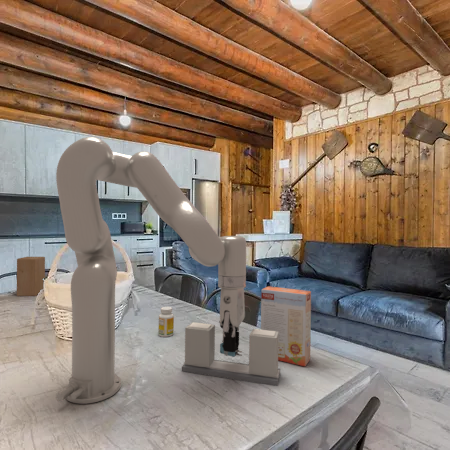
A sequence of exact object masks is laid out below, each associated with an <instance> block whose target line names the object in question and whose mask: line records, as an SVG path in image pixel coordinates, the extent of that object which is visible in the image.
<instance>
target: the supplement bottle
mask: <svg viewBox="0 0 450 450" xmlns="http://www.w3.org/2000/svg"><path fill="white" fill-rule="evenodd" d="M174 319H175V316H174V313H173V307H171V306H163V307H161V308H160V313H159V315H158V336H159V337H162V338H167V337H172V336H173V335H174V332H175V331H174V330H175V328H174V326H175V324H174V323H175V322H174V321H175V320H174Z"/></svg>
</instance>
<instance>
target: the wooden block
mask: <svg viewBox="0 0 450 450" xmlns="http://www.w3.org/2000/svg"><path fill="white" fill-rule="evenodd" d="M43 278H45V279H46V257H45V256H24V257H20V258H17V259H16V297H37V296H38V295H37V294H38V293H39V292H40V290H41V289H43V280H42V279H43Z"/></svg>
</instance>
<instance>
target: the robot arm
mask: <svg viewBox="0 0 450 450" xmlns="http://www.w3.org/2000/svg"><path fill="white" fill-rule="evenodd" d="M55 174H56V175H55V176H56V177H55V180H56V190H57V194H58V195H57V196H58V200H59V205H60V206H59V207H60V212H61V213H60V214H61V218H62V222H63V230H64V236H65V241H66V243H67V246H68V247H69V248H70V249H71V250H72V251H74V254H75V257H76V258H75V259H76V263H77V267H76V268H75V270H74V271H73V273H72V276H71V279H70V298H71V315H72V316H71V328H72V329H71V335H72V336H71V339H72V340H71V341H72V342H71V377H70V378H68V384H66V386H65V387H64V388H63V389H62V390H60V391H58V393H56V395H55V398H56V401H58V402H60V403H61V402H63V401H64V400H66V401H69V402H70V403H74V404H84V405H86V404H87V405H88V404H94V403H98V402H101V401H105V400H106V399H108V398H111V397H112V396H114V395H115V394H117V393H118V392H119V390H120V389H121V387H122V380H121V378H120V376H118V375H116V374H115V369H116V367H115V361H116V360H115V356H116V353H115V349H116V346H115V345H116V283H117V282H116V280H117V275H118V268H117V267H118V266H117V261H116V257H115V252H114V247H113V241H112V236H111V230H110V228H109V226H108V223H107V222H106V221H105V220H104V219H103V215H102V211H101V205H100V198H99V193H98V188H97V181H100V182H106V183H110V184H115V185H119V186H125V187H129V188H130V187H131V188H136V189H138V191H139V192H140V193H141V195H142V196H143V197H144V198H145V200H146V201H147V203H148V204H149V205H150V206H151V208H152V209H153V210H154V212H155V213H156V214H157V215H158V217H159V218H160V219H161V220H162V221H163V222H164V223H165V224H167V226H169V227H170V228H171V229H172V230H173V231H175V233H176V234H178V236H179V237H180V239H182V241H183V242H184V244H185V245H186V246H187V247H188V252H189V255H190V256H191V258H192V259H193V260H194V261H196V262H197V263H199V264H200V265H202V266H204V267H216V266H217V267H218V270H217V271H218V275H217V277H218V281H217V283H218V284H217V285H218V288H220V295H219V297H220V302H219V303H220V304H219V321H220V323H219V325H220V324H221V325H222V326H223V329H222V333H223V332H224V346H223V350H224V351H227V352H235V350H236V344H237V345H238V347H239V346H240V325H241V323H242V322H243V321H244V319H245V317H246V311H245V310H246V309H245V308H246V307H245V288H246V286H247V283H246V282H247V278H246V277H247V240H246V238H245V237H243V236H240V235H224V236H219V235H218V233H216V231H215V230H214V228H213V227H212V226H211V224H210V223H209V222H208V221H207V219H206V218H205V217H204V216H203V215H202V213H201V212H200V211H199V210H198V209H197V207H195V206H194V204H193V203H192V201H190V199H189V198H188V197H187V196H186V195H185V193H184V192H183V191H182V190H181V188H180V187H179V185H178V184H177V183H176V181H175V180H174V179H173V178H172V176H171V175H170V173H169V172H168V171H167V170H166V168H165V167H164V165H163V164H162V163H161V161H160V159H158V157H156V156H155V154H154V153H151V152H150V151H149V152H148V151H144V150H143V151H139V152H136V153H134V154H133V155H129V154H123V153H121V152H120V153H119V152H116V151H113V150H112V148H111V147H110V146H109V144H108V143H107V142H106V141H104V140H103V139H101V138H98V137H95V136H87V137H83V138H80V139H77V140H75V141H74V142H72V144H70V145H69V146H68V147H67V148H65V150H64V151H63V153H62V154H61V156H60V158H59V160H58V163H57V166H56V172H55ZM223 320H224V321H223ZM229 323H232V325H229ZM223 324H224V325H223ZM235 327H238V328H236V329H235ZM229 328H232V331H231V329H229ZM234 335H235V337H234Z"/></svg>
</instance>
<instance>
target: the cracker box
mask: <svg viewBox="0 0 450 450" xmlns="http://www.w3.org/2000/svg"><path fill="white" fill-rule="evenodd" d="M260 295H261V296H260V297H261V299H260V302H261V303H260V305H261V307H260V330H269V331H276V332H279V337H278V362H279V361H281V362H283V363H288V364H292V365H296V366H299V367H300V366H301V367H306V366H307V364H309V362H310V360H311V328H312V326H311V325H312V324H311V323H312V322H311V321H312V319H311V317H312V291H310V290H303V289H294V288H288V287H287V288H286V287H276V286H270V285H269V286H266V287H264V288H262V289H261V294H260Z"/></svg>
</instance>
